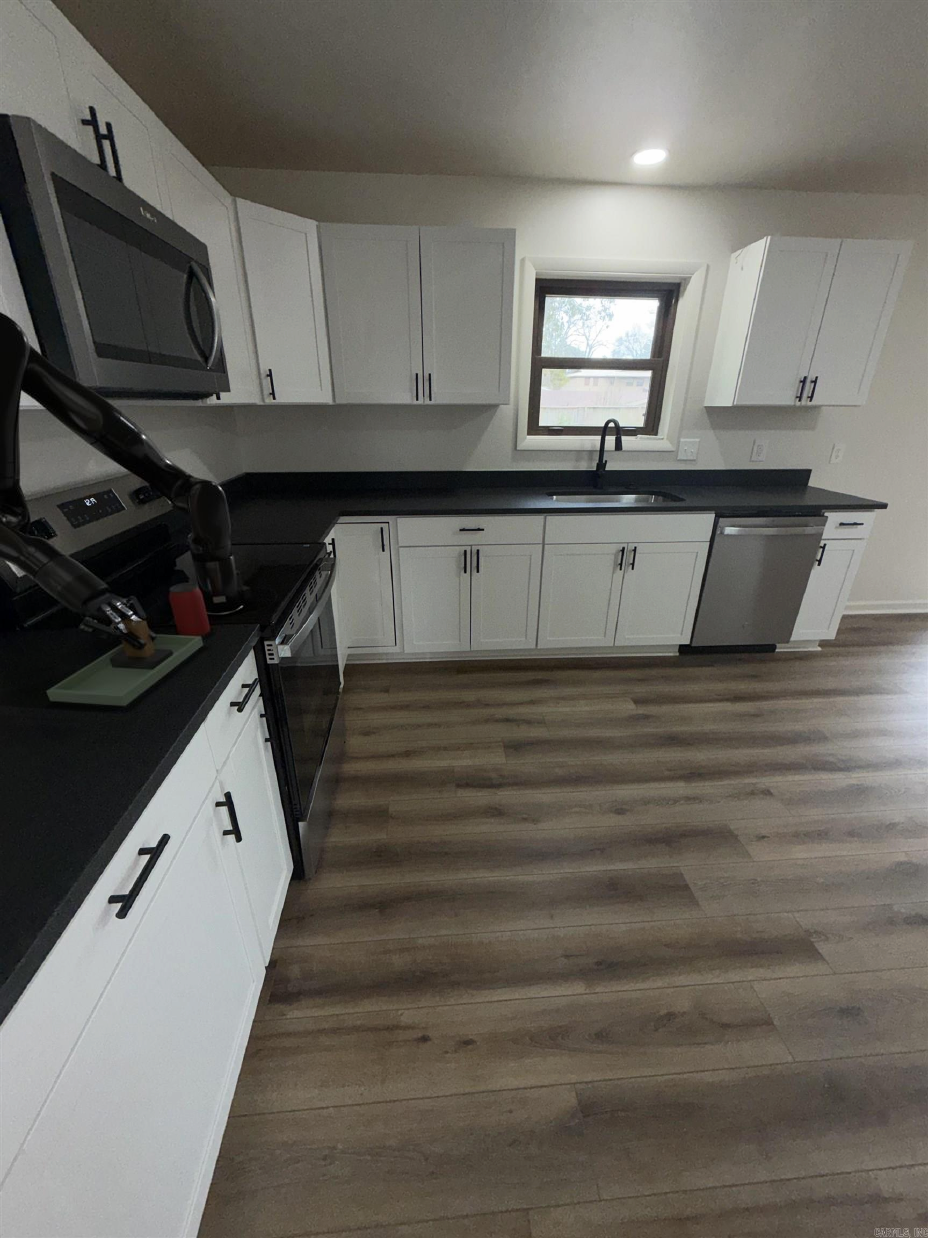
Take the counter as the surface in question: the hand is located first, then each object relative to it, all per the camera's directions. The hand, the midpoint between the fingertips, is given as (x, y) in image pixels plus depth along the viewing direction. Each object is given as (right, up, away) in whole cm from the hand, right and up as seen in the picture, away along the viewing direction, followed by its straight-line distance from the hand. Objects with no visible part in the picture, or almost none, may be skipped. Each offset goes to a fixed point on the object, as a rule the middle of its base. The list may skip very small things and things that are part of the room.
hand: (148, 643), depth 99 cm
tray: (-2, -6, 0) cm, 7 cm away
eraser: (-2, -4, +2) cm, 5 cm away
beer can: (+1, +1, +16) cm, 16 cm away
